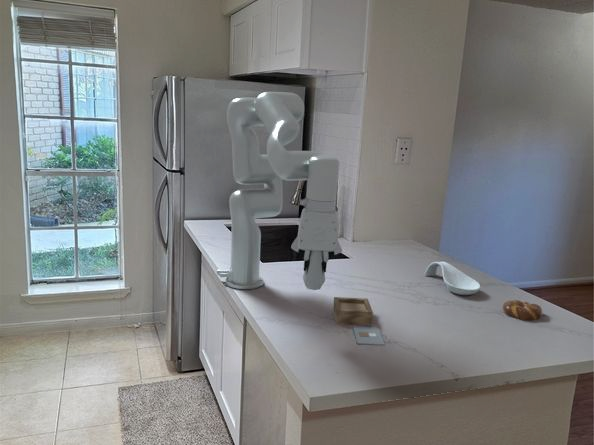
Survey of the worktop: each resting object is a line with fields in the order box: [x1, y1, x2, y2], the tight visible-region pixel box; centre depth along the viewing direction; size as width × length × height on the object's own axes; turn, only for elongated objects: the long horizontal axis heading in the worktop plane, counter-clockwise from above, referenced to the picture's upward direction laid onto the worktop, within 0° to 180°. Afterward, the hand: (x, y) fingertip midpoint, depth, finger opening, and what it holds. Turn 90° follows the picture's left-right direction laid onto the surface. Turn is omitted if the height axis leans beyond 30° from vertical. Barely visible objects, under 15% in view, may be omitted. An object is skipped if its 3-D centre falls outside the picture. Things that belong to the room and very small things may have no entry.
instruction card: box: [352, 325, 386, 346], centre depth 138 cm, size 7×10×1 cm
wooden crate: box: [332, 296, 374, 326], centre depth 150 cm, size 10×10×4 cm
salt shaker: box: [302, 250, 326, 291], centre depth 134 cm, size 6×6×13 cm
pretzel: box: [502, 299, 543, 321], centre depth 160 cm, size 12×11×4 cm
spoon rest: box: [424, 261, 481, 296], centre depth 181 cm, size 24×12×7 cm, turn 23°
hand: (314, 273), depth 135 cm, fingers closed on salt shaker, 3 cm apart
